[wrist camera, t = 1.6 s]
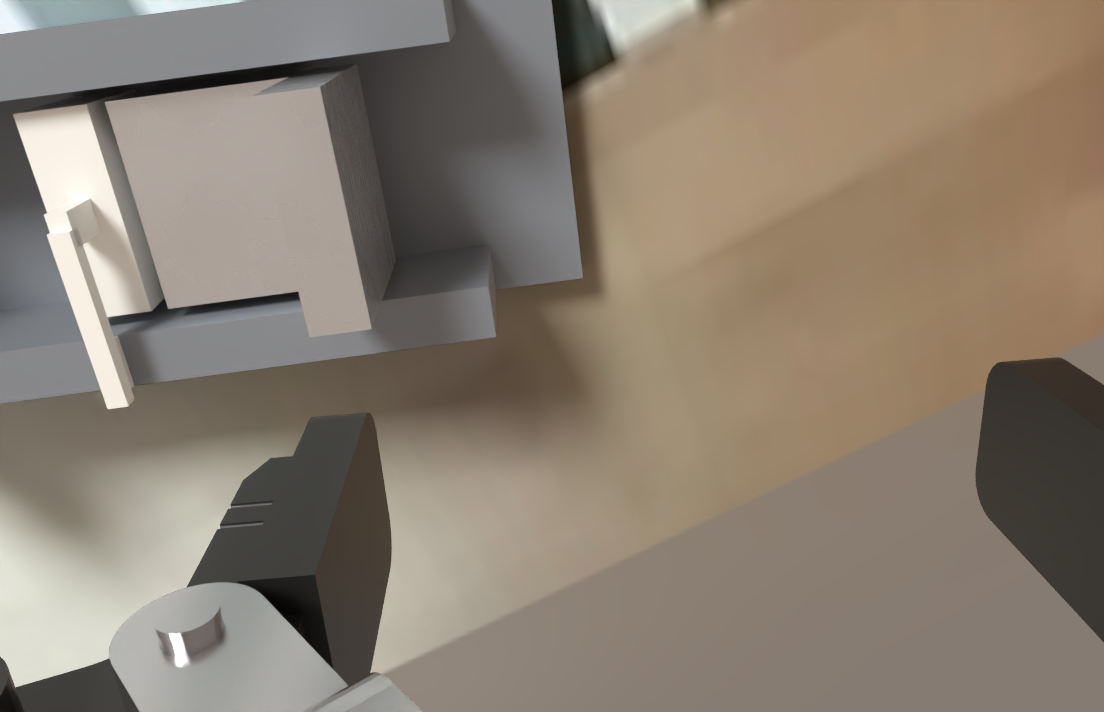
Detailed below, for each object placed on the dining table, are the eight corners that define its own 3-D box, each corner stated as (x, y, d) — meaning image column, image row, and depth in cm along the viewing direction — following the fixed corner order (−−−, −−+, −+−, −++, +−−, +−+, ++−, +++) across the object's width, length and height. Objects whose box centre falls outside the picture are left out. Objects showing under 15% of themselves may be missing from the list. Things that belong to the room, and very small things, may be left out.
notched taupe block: (151, 86, 28) (33, 125, 21) (364, 58, 28) (320, 86, 21) (204, 272, 30) (114, 363, 23) (401, 245, 30) (371, 329, 23)
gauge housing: (-285, 73, 28) (-609, 114, 20) (545, -38, 28) (565, -42, 20) (-149, 365, 32) (-373, 501, 24) (580, 267, 32) (608, 369, 24)
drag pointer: (70, 97, 28) (-22, 123, 23) (135, 88, 28) (57, 113, 23) (149, 342, 31) (83, 412, 26) (207, 335, 31) (152, 402, 26)
